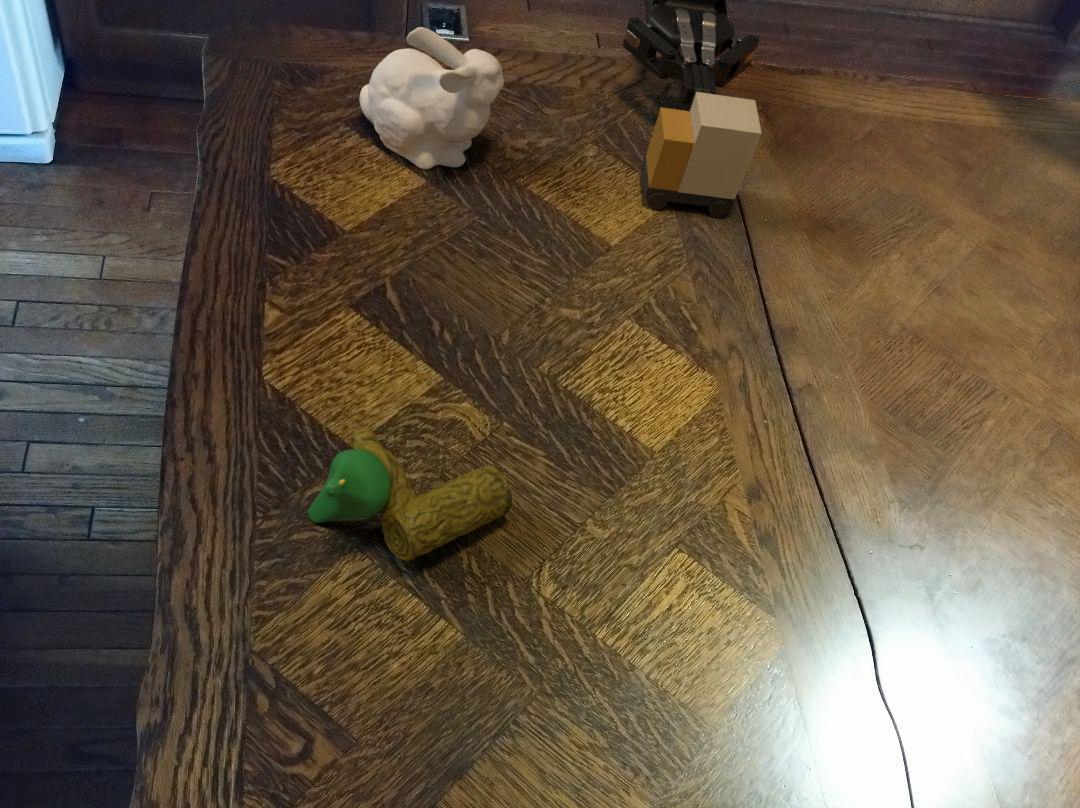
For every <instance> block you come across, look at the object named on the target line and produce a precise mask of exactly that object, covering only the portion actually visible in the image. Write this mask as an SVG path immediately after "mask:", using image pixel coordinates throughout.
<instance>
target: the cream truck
mask: <svg viewBox="0 0 1080 808" xmlns="http://www.w3.org/2000/svg"><path fill="white" fill-rule="evenodd" d="M757 107H758V106H757V102H756V100H755V99H749V98H743V97H735V96H728V95H721V94H716V93H715V94H708V93H701V92H696V94H695V97H694V100H693V103H692V106H691V109H690V110H683V109H676V108H668V107H662V106H661V107H660V108H659V112H658V115H657V118H656V121H655V125H654V128H653V131H652V134H651V138H650V141H649V144H648V147H647V152H646V154H645V156H644V157H643V161H642V165H641V176H642V186H643V195H644V196H643V198H644V199H646V202H647V206H648V207H649V208H650V210H654V211H659V210H662V209H664V208H665V207H667V205H668V203H676V204H677V203H678V204H685V205H691V206H692V205H693V206H701V207H707V209H708V210H707V211H708V214H709V215H710V216H711V217H712V218H722V217H724V216H725V215H727V214H728V212H729V210H732V208H733V207H734V204H735V201H736V197H737V196H738V192H739V190H740V188H741V186H742V183H743V180H744V178H745V176H746V173H747V171H748V168H749V166H750V163H751V161H752V159H753V156H754V154H755V151H756V149H757V146H758V144H759V142H760V140H761V136H762V134H763V133H762V127H761V122H760V117H759V113H758V112H759V111H758V108H757Z"/></svg>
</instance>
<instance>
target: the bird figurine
mask: <svg viewBox="0 0 1080 808" xmlns="http://www.w3.org/2000/svg"><path fill="white" fill-rule="evenodd" d="M349 443H350V446H351V447H352V449H346V450H343V451H340V452H339V453H337V454H336V455H335V456H334V458H333V459H332V462H331V464H330V468H329V472H328V476H327V479H326V482H325V484H324V486H323V487H322V488H321V490H320V492H319V493H318V495H317V496H316V498H315V499H314V501H313V502H312V504H311V505H310V507H309V508H308V511H307V516H308V518H309V519H310V520H311V522H312V523H315V524H320V523H327V522H331V521H335V520H336V521H337V520H341V519H369V518H371V517H373V516H375V515H376V514H378V513H379V512H380V511H381V510H383V511H382V514H381V519H380V523H381V531H382V534H383V538H384V541H385V544H386V546H387V548H388V549H389V551H390V552H391V553H392V554H393V555H394V556H395V557H396V558H397V559H399V560H402V561H404V562H410V561H412V560H415V559H416V557H419V556H424V555H426V554H428V553H431V552H432V551H433V550H434V549H437V548H440V547H442V546H443V545H446V544H447V543H449V542H452V541H454V540H455V539H457V538H458V537H460V536H465V535H467V534H469V533H471V532H473V531H475V530H477V529H479V528H481V527H483V526H485V525H486V524H489V523H492V521H495V520H496V519H499V518H501V517H505V516H506V515H507V514H509V512H510V510H511V508H512V505H513V494H512V489H511V487H510V483H509V482H508V481H507V479H506V478H505V476H504V474H503V473H502V472H500V470H499V469H497V468H496V467H494V466H492V465H483V466H481V467H478V468H477V469H475V470H472V471H469V472H467V473H465V474H462V475H460V476H458V477H456V478H453V479H451V480H449V481H446V482H444V483H443V484H441V485H440V486H436V487H434V488H432V489H430V490H428V491H426V492H424V493H417V492H416V491H415V490H414V488H413V486H412V484H411V482H410V481H409V480H408V478H407V476H406V473H405V471H404V469H403V468H402V466H401V463H400V462H399V460H398V459H397V458H396V457H395V456H394V455H393V454H392V453H391V452H390V451H389V450H388V449H387V448H385V447H384V446H383V445H382V444H381V442H380V441H379V440H378V438H377V436H376V434H375V433H374V431H373V429H372V427H369V426H363V427H362V428H358V429H357V430H356V431H355V432H353V433H351V435H350V442H349Z"/></svg>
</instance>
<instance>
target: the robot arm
mask: <svg viewBox="0 0 1080 808" xmlns="http://www.w3.org/2000/svg"><path fill="white" fill-rule="evenodd" d="M643 2H644V8H645V9H644V10H645V20H644V21H643V20H641V19H640V18H638V17H637V16H631V17H629V19H628V22H627V25H626V30H625V33H624V38H623V41H622V47H623V48H624V49H625V50H626V51H627V52H629V54H631V55H632V56H633V57H634V58H636V59H637V60H638V61H639V62H640V63H641V64H643V65H644V67H646V68H647V69H649V71H650V72H652V73H653V74H654V75H655V76H656V77H658V78H659V79H661V80H668V79H670V77H671V78H673V79H675V82H676V84H677V85H678V88H679V96H680V100H681V101H682V103H683V104H686V105H687V111H690V109H691V106H692V103H693V100H694V97H695V94H696V92H701V93H708V94H715V95H716V92H717V88H724V87H725V86H727V84H729V83H731V82H732V81H733V80H734V79H735V78H737V77H738V76H739V75H740V74H742V73H743V72H745V70H747V69H748V68H749V67H751V65H752V61H753V58H754V56H755V54H756V51H757V48H758V46H759V43H760V39H759V37H757V36H756V35H753V34H748V35H746V36H745V37H744V38H742V37H740V36H738V35H737V34H736V33H735V32H736V29H735V26H734V24H733V23H732V22H731V21H730V20H729V18H728V4H727V0H643ZM726 50H727V51H726ZM725 51H726V52H725ZM657 53H658V54H660V55H661V57H660V59H658V58H657ZM719 56H720V57H719ZM718 57H719V59H717V58H718Z"/></svg>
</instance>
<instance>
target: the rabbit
mask: <svg viewBox="0 0 1080 808" xmlns="http://www.w3.org/2000/svg"><path fill="white" fill-rule="evenodd" d="M406 43H407V45H409V46H412V47H414V48H417V49H420V50H421V51H419V50H417V49H414V48H399V49H396V50H393V51H391V52H390V53H389V54H388V55H386V56H385V57H384V58H383V59H382V60H381V61H380V62H379V63H378V64H377V66H376V67H375V68H374V69H373V71H372V74H371V76H370V78H369V82H368V84H365V85H364V86H363V87H361V90H360V93H359V97H358V99H359V106H360V110H361V111H362V113H363V115H364V116H365V118H366V119H367V120H368V121H369V122H370V123H371V124H372V125H373V127H374V130H375V132H376V133H377V134H378V135H379V139H380V140H381V142H382V144H383V145H384V146H385V147H386V148H387V149H389V150H390V151H392V152H393V153H395V154H397V155H399V156H400V157H403V158H404V159H406V160H408V161H409V162H410V163H412V164H413V165H415V166H416V167H417V168H419V169H421V170H430V169H432V168H434V167H435V166H444V167H449V168H459V167H461V166H463V165H464V164H465V163H466V161H467V159H466V156H465V154H464V152H465V151H467V150H468V149H470V148H471V146H472V144H473V143H472V142H473V141H472V139H473V138H475V137H477V136H478V135H479V134H480V133H481V132H482V131H483V129H484V128H485V127H486V125H487V124H488V122H489V121H490V117H491V104H492V103H494V102H495V101H496V98H497V97H498V95H499V93H500V92H501V91H502V90H503V88H504V86H505V85H504V84H505V80H504V75H503V69H502V65H501V63H500V62H499V60H498V59H497V57H495V56H494V55H493V54H491V53H489V52H487V51H485V50H481V49H478V48H472V49H469V50H467V51H466V52H465V53H464V54H463V53H462V52H461V51H459V50H458V49H457V48H456V47H455V46H454V45H453V44H451V43H450V42H449V41H448V40H446V38H445V39H444V38H443V36H440V35H439V34H438V33H436V32H434V30H431V29H429V28H426V27H423V26H419V27H416V28H415V29H413V30H412V31H410V32H409V33H408V35H407V37H406ZM422 51H423V52H422ZM426 53H427V54H426ZM428 54H429V55H428ZM431 56H432V57H431ZM434 58H435V59H437V60H438V61H440V62H441V63H443V64H444V65H446V66H448V67H449V68H452V69H446V68H444V67H443V66H442V65H441V64H440V63H439V62H438V61H436V60H435V59H434Z"/></svg>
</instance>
